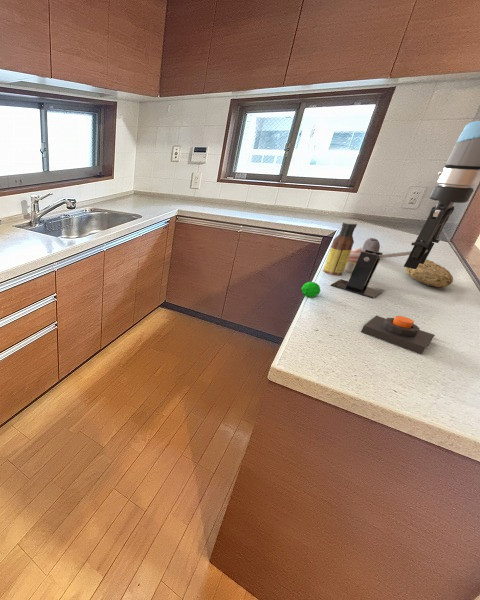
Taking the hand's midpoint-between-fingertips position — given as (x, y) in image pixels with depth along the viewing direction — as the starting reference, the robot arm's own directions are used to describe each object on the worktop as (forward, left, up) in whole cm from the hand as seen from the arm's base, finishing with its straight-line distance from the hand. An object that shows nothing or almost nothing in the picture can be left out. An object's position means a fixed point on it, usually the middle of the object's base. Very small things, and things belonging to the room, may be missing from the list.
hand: (413, 265), depth 98 cm
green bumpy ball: (+18, +19, -13) cm, 29 cm away
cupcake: (+19, -20, -13) cm, 30 cm away
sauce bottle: (+22, -11, -13) cm, 28 cm away
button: (-6, +27, -9) cm, 29 cm away
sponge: (-1, -34, -13) cm, 37 cm away
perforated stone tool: (+22, -53, -13) cm, 59 cm away
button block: (-6, +27, -13) cm, 31 cm away
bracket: (+11, 0, -13) cm, 17 cm away
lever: (+5, 0, 0) cm, 5 cm away
